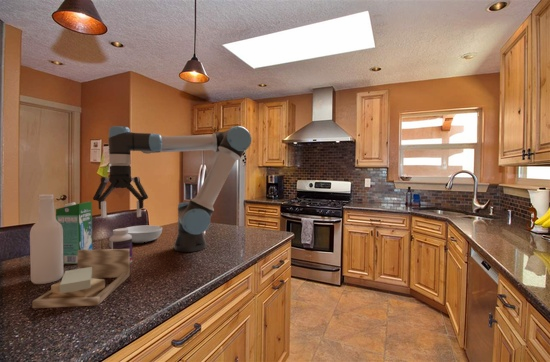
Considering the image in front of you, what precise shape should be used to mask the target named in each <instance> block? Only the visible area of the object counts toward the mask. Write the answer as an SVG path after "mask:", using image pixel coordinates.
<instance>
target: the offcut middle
mask: <svg viewBox="0 0 550 362" xmlns="http://www.w3.org/2000/svg"><path fill="white" fill-rule="evenodd" d="M60 283H61V281H59V282H56V283H54V284H51V286H50V290H51V294H59V295H67V296H75V297H87V296H89V295H91V294H93V293H95V292H97V291H99V290H101V289H103V288H106V278H92V280H91V288H88V289H83V290H78V291H72V292H67V293H62V294H60Z"/></svg>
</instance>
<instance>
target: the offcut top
mask: <svg viewBox="0 0 550 362" xmlns="http://www.w3.org/2000/svg"><path fill="white" fill-rule="evenodd" d="M91 280H92V267H88V268H81V269H78V268H75V269H70V270H65V271H64V275H63V276H62V278H61V279H60V282H61V283H60V294H62V293H67V292H72V291H78V290H83V289H88V288H91Z"/></svg>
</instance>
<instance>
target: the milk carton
mask: <svg viewBox="0 0 550 362" xmlns="http://www.w3.org/2000/svg"><path fill="white" fill-rule="evenodd" d="M55 218H56V220H57V221H58V222H59V223H60V224H61V225H62V228H63V265H71V264H72V265H73V264H74V265H76V264H77V265H78V250H93V203H92V201H86V202H81V203H76V202H75V201H73V202H69V203H65V204H64V205H63V207H59V208H55Z"/></svg>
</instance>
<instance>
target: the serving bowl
mask: <svg viewBox="0 0 550 362" xmlns="http://www.w3.org/2000/svg"><path fill="white" fill-rule="evenodd" d="M126 228H127V229H128V234H130V235H131V236H132V244H133V243H134V244H144V242H145V243H148V242H151V241H155V240H156V239H158V238H159V237H160V236H161V234H162V232H163V227H162V226H161V225H160V226H159V225H151V224H149V225H146V224H145V225H133V226H128V227H126Z"/></svg>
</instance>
